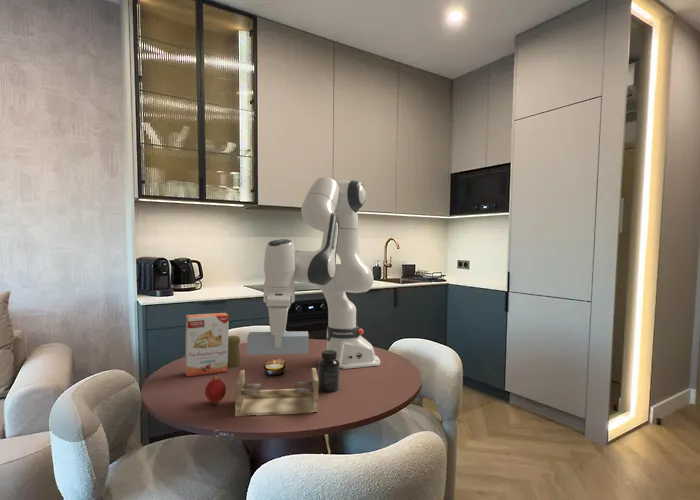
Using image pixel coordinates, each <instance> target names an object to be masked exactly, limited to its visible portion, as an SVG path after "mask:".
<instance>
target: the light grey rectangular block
mask: <svg viewBox="0 0 700 500" xmlns="http://www.w3.org/2000/svg"><path fill="white" fill-rule="evenodd" d="M309 338H310V336H309V331H307V330H306V331H303V330H302V331H296V330H295V331H294V330H293V331H285V334H284V335H282V342H281V347H280V348H276V347H275V338H274V335H271V331H249V332H248V335H247V338H246V341H247V342H246V355H247V356H255V355H256V356H258V355H259V356H262V355H301V354H304V355H305V354H306V355H307V354H309V351H310V350H309V342H310V339H309Z"/></svg>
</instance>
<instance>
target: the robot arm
mask: <svg viewBox="0 0 700 500" xmlns="http://www.w3.org/2000/svg"><path fill="white" fill-rule="evenodd" d="M366 196H367V195H366V189H365V186H364V184H363V183H362V182H361V181H359V180H335V179H333V178H332V177H329V176H328V177H327V176H322V177H319V178H317V179H316V180H315V181H314V182H313V183H312V185H311V187H310V188H309V190H308V191H307V193H306V195H305V198H304V200H303V202H302V204H301V211H300V213H301V217H302V218H303V220H304V222H305V223H306V224H307V225H308V226H309V227H311V228H312V229H314V230H317V231H319V232H322V233H323V234H322V239H321V240H322V241H321V245H320V248H319V249H317V250H314V251H312V250H311V251H309V250H308V251H307V250H305V251H304V250H299V249H296V248H295V244H294V242H293V240H291V239H286V238H285V239H283V238H282V239H273V240H270V241H269V242H268V243H267V244H266V247H265V252H264V260H263V262H264V263H263V270H264V271H263V272H264V274H265V275H264V277H265V278H264V282H263V303H265V305H266V307H267V308H268V309H267V310H268V319H269V322H268V323H269V329H270V331H269V332H271V335H274V338H275V347H276V348H280V347H281V342H282V335H284V334H285V332H286V327H287V322H288V312H289V309H291V305H292V304H293V303H295V299H296V295H295V293H296V284H295V283H304V284H313V285H316V286H317V287H318V288H319V289H320V291H321V292H322V294H323V296H324V298H325V300H326V304H327V310H328V311H327V315H328V316H327V317H328V323H327V324H328V325H327V327H326V341H327V343H326V350H333V351H336V352H337V358H336V359H337V360H338V361H339V364H340V367H339V369H342V370H343V369H345V370H346V369H355V368H357V369H358V368H368V367H375V366H376V367H377V366H380V365H381V359H380V357H379V356H378V355H376V353H375V350H374V347H373V345H372V344H371V342H369V341H368V340H367V339H366V338H364V337H363V336H362V335H363V334H364V330H363V328H361V327H359V326H358V325H357V308H356V305H355V304H354V303H353V302H352V301H350V300H349V298H348V295H347V294H346V293H352V294H358V293H360V294H361V293H366V292H368V291H370V290H371V288H372V287H373V284H374V274H373V272H372V270H371V269H370V268H369V267H368V266H367V264H365V262H364V261H363V259H362V256H361V254H360V247H359V217H358V211H360V209H362V207H363V206H364V204H365V201H366ZM337 256H338V257H339V260H340V263H336V262H337V260H336V259H337Z"/></svg>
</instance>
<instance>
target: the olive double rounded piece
mask: <svg viewBox="0 0 700 500" xmlns="http://www.w3.org/2000/svg"><path fill="white" fill-rule="evenodd" d="M240 344H241V338H240V336H238V335H228V368H237V367H240V366H241V365H242V361H241V354H240Z"/></svg>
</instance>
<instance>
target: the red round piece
mask: <svg viewBox="0 0 700 500" xmlns="http://www.w3.org/2000/svg"><path fill="white" fill-rule="evenodd" d="M226 392H227V388H226V384H225V383H224V381H223V380H222V379H220V378H218V376H214V377H213V379H212V380H210V381H209V382H208V383H207V385H206V386H205V390H204V394H205V397H206V399H207V400H209V401H210V402H212V404H214V405H215V404H216V405H217V404H218V403H219V402H220V401H222V400H223V399H224V397H225V396H226V394H227V393H226Z"/></svg>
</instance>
